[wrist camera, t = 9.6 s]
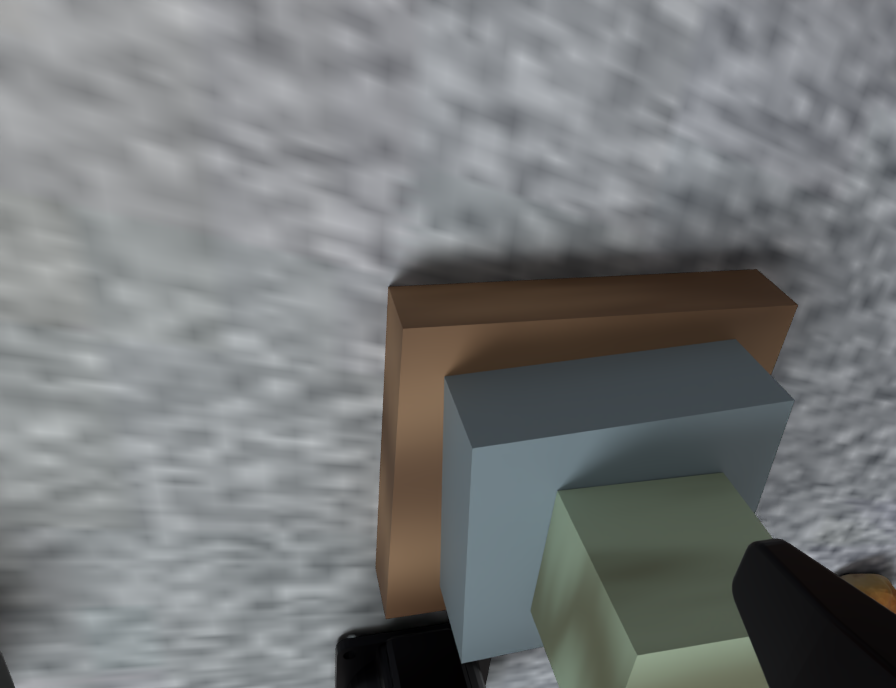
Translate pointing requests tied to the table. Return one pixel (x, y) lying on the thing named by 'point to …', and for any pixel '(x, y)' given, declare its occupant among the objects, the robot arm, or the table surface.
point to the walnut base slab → (523, 344)
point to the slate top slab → (582, 461)
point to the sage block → (647, 586)
